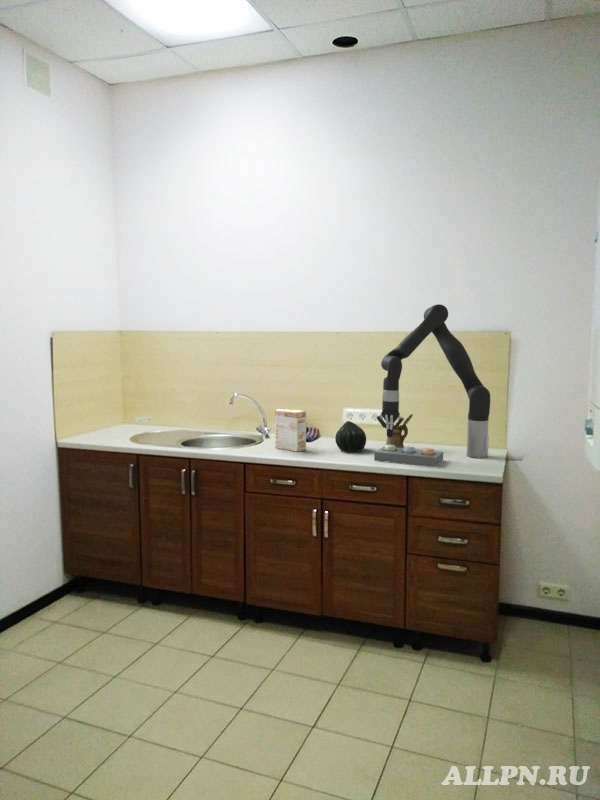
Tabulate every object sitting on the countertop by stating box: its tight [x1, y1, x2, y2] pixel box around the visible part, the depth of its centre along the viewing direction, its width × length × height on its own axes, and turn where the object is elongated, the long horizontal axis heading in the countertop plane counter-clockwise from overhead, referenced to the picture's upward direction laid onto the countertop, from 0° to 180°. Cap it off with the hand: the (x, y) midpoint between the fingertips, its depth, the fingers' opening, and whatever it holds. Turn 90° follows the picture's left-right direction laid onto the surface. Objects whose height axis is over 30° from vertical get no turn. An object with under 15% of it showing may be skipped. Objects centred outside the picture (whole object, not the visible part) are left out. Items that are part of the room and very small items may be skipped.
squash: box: [335, 420, 367, 452], centre depth 301 cm, size 14×15×15 cm
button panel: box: [373, 445, 444, 467], centre depth 279 cm, size 28×14×4 cm, turn 63°
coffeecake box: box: [274, 408, 307, 452], centre depth 304 cm, size 15×7×20 cm, turn 48°
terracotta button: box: [422, 447, 435, 456], centre depth 275 cm, size 5×5×3 cm
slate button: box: [404, 446, 415, 454], centre depth 279 cm, size 5×5×3 cm
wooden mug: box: [385, 413, 413, 448], centre depth 304 cm, size 9×14×18 cm, turn 62°
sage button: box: [384, 444, 395, 452], centre depth 283 cm, size 5×5×3 cm
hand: (389, 437), depth 282 cm, fingers closed
